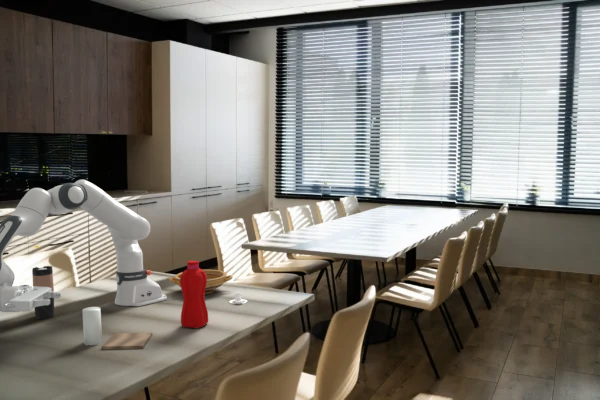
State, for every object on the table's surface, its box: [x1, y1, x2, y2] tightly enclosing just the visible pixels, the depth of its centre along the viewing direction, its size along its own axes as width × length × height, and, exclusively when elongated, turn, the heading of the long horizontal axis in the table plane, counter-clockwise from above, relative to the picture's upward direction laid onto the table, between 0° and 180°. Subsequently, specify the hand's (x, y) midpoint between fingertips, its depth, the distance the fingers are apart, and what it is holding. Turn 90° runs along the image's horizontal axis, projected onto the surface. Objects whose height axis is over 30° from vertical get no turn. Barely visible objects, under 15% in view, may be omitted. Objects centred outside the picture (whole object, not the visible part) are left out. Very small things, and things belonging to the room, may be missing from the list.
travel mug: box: [31, 265, 55, 320], centre depth 240 cm, size 8×8×20 cm
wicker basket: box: [168, 269, 233, 295], centre depth 278 cm, size 30×24×8 cm
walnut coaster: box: [101, 332, 153, 350], centre depth 208 cm, size 14×14×1 cm
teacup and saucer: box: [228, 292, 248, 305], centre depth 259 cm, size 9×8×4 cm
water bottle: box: [179, 260, 209, 329], centre depth 226 cm, size 9×11×25 cm
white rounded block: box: [81, 306, 103, 347], centre depth 207 cm, size 6×6×12 cm
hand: (55, 298), depth 206 cm, fingers open, 8 cm apart
